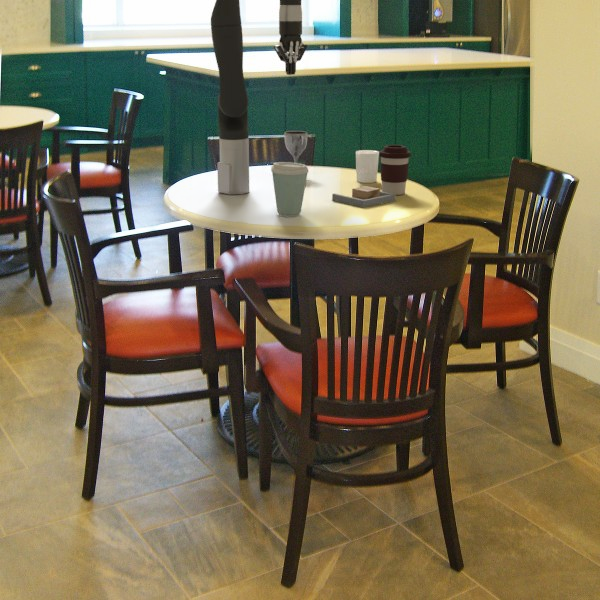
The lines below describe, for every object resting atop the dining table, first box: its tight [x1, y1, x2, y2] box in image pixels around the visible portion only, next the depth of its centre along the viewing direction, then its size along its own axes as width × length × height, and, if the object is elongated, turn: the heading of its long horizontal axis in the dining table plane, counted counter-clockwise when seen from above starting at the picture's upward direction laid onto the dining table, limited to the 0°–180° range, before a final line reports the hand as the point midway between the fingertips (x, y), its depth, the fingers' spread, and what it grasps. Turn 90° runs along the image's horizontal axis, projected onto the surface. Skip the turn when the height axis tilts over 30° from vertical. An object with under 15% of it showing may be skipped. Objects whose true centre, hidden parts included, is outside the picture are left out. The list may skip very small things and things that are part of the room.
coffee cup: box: [378, 144, 412, 196], centre depth 281 cm, size 10×10×15 cm
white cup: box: [355, 149, 380, 184], centre depth 301 cm, size 8×8×10 cm
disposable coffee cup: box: [270, 161, 309, 218], centre depth 252 cm, size 11×11×15 cm
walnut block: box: [351, 185, 381, 200], centre depth 272 cm, size 6×6×4 cm
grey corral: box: [331, 190, 397, 208], centre depth 273 cm, size 14×14×2 cm
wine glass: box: [284, 130, 308, 163], centre depth 310 cm, size 8×8×15 cm
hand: (290, 74), depth 295 cm, fingers closed
